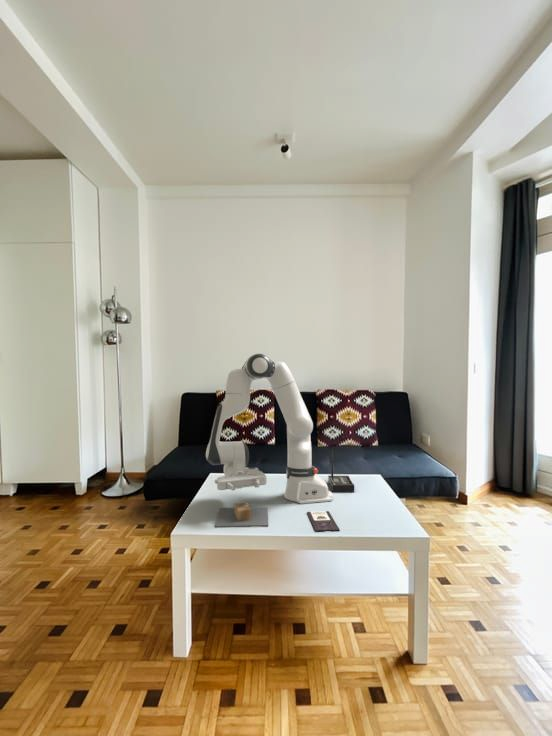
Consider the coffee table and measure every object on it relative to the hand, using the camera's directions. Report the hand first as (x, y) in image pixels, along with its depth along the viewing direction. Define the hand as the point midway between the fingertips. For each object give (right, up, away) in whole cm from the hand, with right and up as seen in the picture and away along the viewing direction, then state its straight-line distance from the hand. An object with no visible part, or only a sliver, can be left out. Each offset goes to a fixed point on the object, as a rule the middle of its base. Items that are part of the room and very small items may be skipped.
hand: (245, 486), depth 150 cm
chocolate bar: (+30, -14, -1) cm, 33 cm away
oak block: (0, -11, -1) cm, 11 cm away
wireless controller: (+44, -13, +43) cm, 63 cm away
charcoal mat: (-1, -13, +3) cm, 14 cm away
